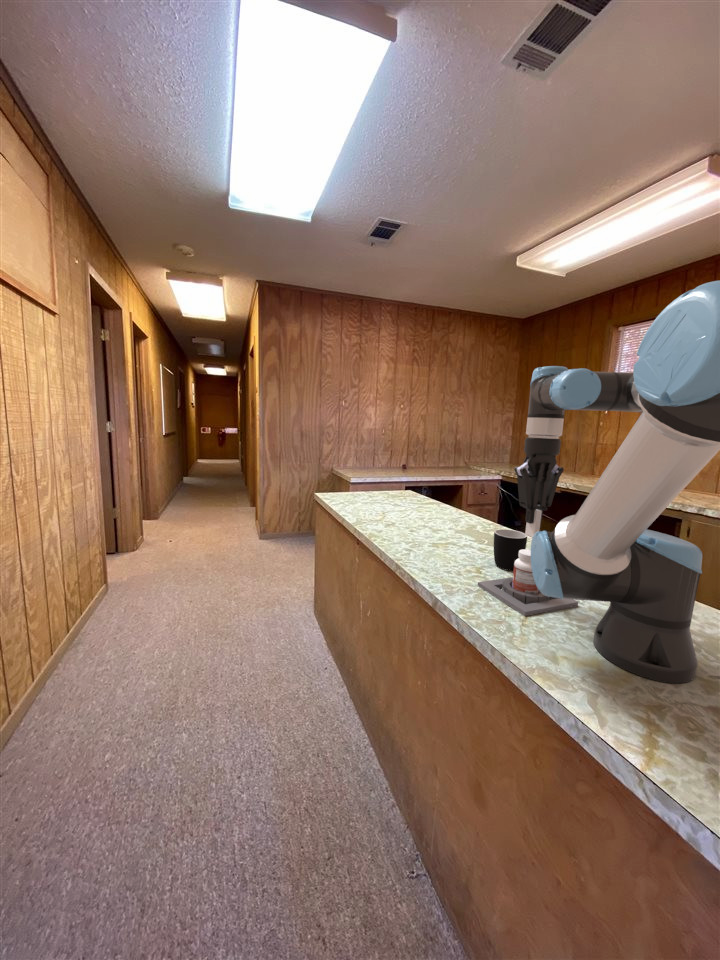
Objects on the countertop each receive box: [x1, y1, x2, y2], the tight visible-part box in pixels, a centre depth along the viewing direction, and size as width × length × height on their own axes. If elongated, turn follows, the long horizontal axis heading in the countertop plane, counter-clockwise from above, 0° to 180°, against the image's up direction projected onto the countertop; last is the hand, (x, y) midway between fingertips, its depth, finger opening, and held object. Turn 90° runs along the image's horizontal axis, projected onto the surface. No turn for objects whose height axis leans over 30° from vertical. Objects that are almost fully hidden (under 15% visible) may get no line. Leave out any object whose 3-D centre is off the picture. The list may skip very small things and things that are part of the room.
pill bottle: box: [512, 549, 539, 594], centre depth 92 cm, size 6×6×11 cm
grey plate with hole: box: [477, 576, 579, 617], centre depth 93 cm, size 16×16×2 cm
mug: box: [493, 528, 528, 571], centre depth 112 cm, size 12×9×10 cm
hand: (531, 535), depth 91 cm, fingers closed
